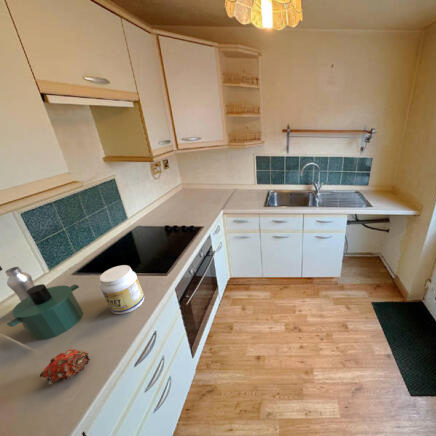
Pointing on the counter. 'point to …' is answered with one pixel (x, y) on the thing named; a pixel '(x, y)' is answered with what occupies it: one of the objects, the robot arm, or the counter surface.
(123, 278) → the supplement tub
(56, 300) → the pot lid
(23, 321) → the pot
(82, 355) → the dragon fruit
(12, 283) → the silver metal bottle
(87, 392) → the counter surface
